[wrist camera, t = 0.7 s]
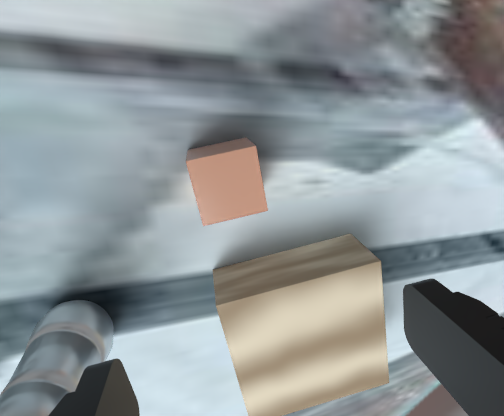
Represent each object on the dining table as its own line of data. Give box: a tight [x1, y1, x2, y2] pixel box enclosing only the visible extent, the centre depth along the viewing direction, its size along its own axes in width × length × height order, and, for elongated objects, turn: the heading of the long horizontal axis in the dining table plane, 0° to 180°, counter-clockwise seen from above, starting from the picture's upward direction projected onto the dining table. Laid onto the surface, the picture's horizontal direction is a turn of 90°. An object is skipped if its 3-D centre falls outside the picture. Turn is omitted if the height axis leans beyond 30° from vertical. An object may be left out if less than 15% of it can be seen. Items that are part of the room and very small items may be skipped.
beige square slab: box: [213, 234, 389, 416], centre depth 32 cm, size 14×14×6 cm
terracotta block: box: [186, 137, 268, 226], centre depth 26 cm, size 5×5×5 cm
